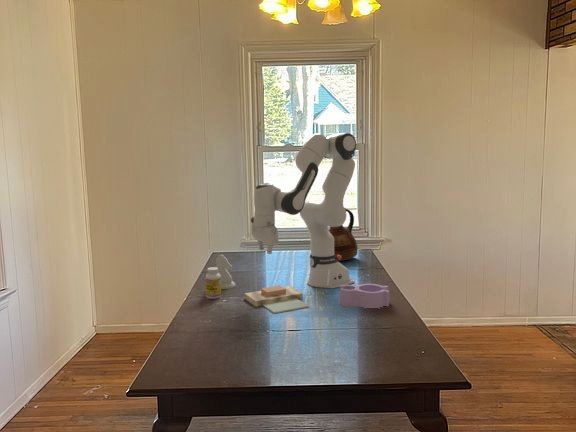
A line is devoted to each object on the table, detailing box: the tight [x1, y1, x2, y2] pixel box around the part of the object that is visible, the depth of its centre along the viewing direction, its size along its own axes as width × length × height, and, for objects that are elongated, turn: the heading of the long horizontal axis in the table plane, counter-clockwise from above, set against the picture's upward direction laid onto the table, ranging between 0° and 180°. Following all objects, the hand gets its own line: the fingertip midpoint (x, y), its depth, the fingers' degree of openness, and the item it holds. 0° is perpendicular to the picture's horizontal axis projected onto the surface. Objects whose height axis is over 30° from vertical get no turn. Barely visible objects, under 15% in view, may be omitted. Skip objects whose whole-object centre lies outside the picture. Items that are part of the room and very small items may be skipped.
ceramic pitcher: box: [328, 207, 358, 262], centre depth 283 cm, size 20×20×30 cm
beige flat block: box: [244, 285, 304, 308], centre depth 219 cm, size 22×12×2 cm, turn 117°
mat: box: [262, 298, 310, 314], centre depth 209 cm, size 16×11×1 cm
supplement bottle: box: [205, 266, 222, 300], centre depth 221 cm, size 7×7×13 cm
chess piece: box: [215, 254, 236, 290], centre depth 237 cm, size 10×10×15 cm
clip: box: [339, 283, 390, 309], centre depth 211 cm, size 20×12×7 cm, turn 83°
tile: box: [260, 285, 286, 297], centre depth 218 cm, size 9×6×2 cm, turn 117°
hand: (265, 251), depth 223 cm, fingers open, 7 cm apart
